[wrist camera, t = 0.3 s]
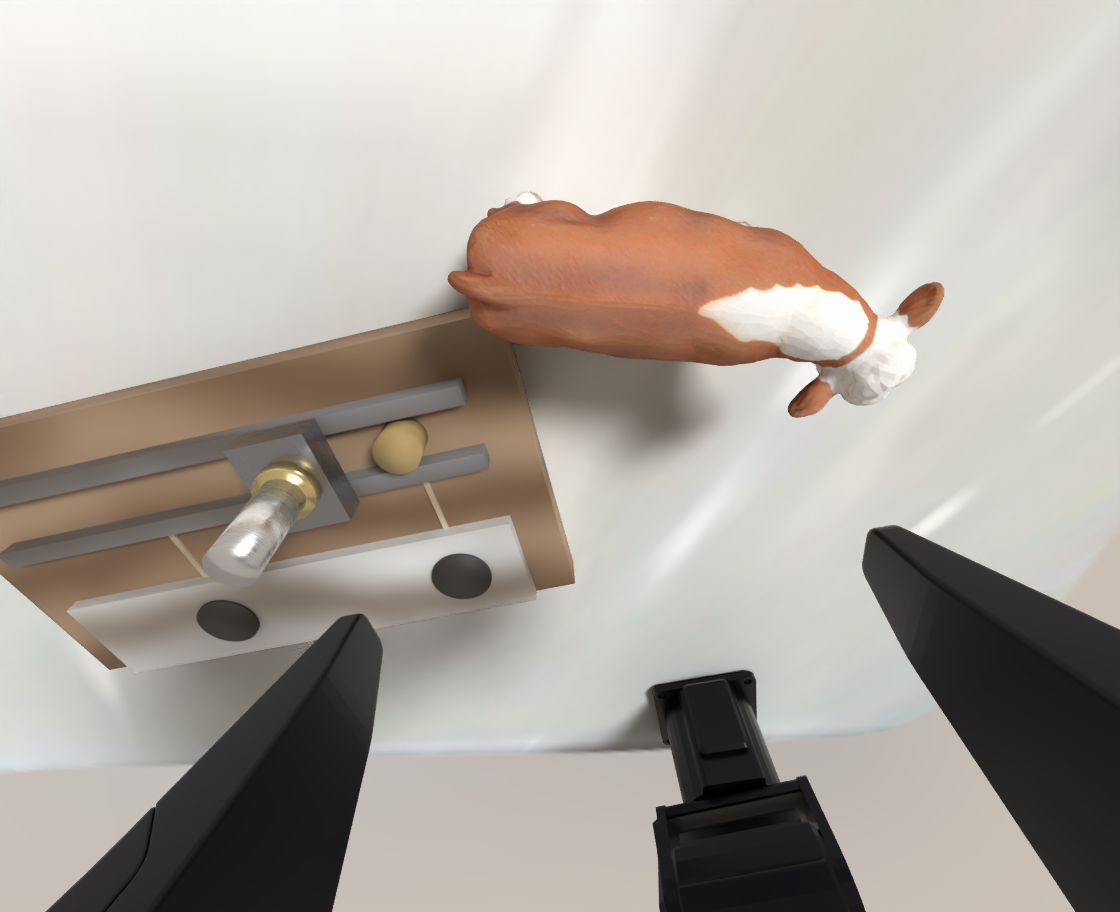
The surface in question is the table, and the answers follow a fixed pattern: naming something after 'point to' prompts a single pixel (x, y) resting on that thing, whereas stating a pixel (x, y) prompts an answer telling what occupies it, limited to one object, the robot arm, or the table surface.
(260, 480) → the sliding handle
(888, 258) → the table surface
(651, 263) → the bull figurine
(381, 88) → the table surface
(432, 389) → the brown flat wooden board
